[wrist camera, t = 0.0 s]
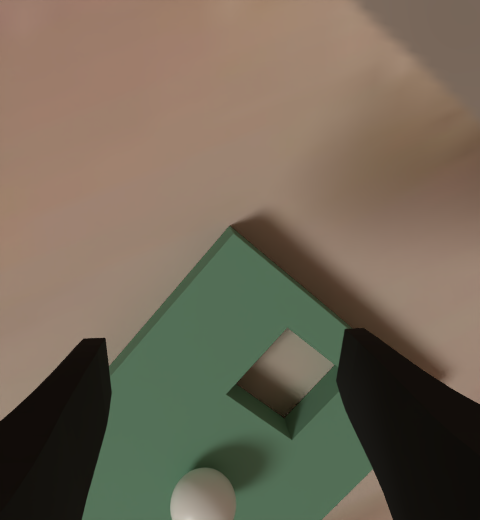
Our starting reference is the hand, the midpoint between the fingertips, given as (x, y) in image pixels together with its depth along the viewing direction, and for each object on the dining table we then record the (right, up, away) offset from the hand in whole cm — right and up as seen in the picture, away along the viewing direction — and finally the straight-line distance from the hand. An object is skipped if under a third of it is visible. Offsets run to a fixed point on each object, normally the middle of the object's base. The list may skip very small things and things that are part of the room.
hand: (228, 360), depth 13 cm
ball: (-2, -10, +10) cm, 14 cm away
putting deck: (0, -7, +13) cm, 15 cm away
